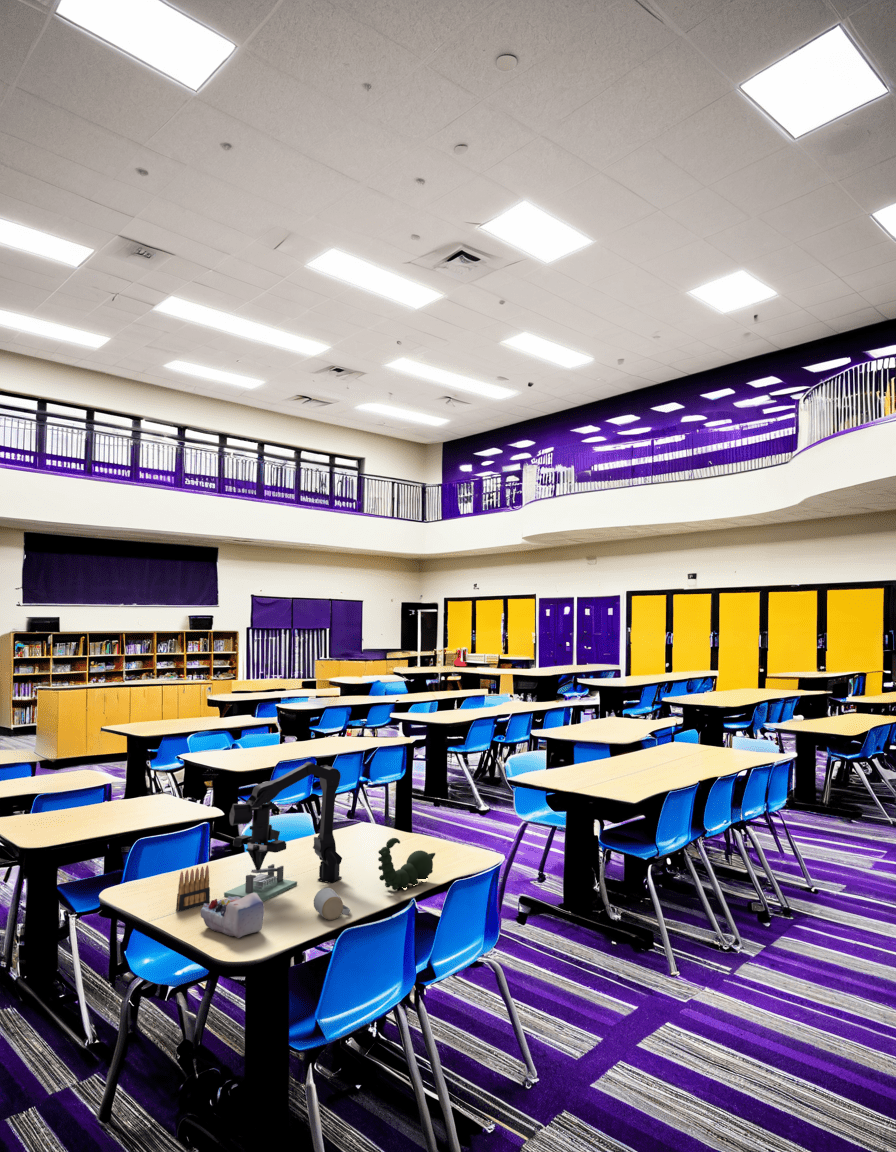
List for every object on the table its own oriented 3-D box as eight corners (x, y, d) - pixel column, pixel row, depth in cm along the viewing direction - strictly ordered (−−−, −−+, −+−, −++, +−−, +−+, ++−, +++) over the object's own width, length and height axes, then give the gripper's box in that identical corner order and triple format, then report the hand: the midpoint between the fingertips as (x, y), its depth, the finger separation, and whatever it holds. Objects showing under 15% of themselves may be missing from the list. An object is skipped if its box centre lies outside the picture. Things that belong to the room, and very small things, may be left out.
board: (296, 885, 250) (297, 881, 251) (259, 902, 232) (260, 899, 232) (262, 879, 257) (262, 875, 257) (224, 896, 239) (224, 892, 239)
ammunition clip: (206, 902, 233) (208, 864, 234) (209, 903, 232) (211, 865, 233) (175, 910, 225) (177, 871, 226) (178, 912, 224) (180, 872, 225)
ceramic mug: (321, 923, 215) (323, 896, 216) (312, 914, 222) (313, 889, 223) (354, 917, 221) (355, 891, 222) (344, 909, 228) (345, 884, 229)
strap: (273, 870, 253) (273, 867, 253) (279, 871, 252) (279, 868, 252) (250, 872, 242) (250, 869, 242) (257, 873, 241) (257, 870, 241)
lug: (255, 891, 240) (255, 874, 240) (250, 893, 238) (251, 876, 238) (249, 890, 241) (250, 873, 241) (245, 892, 239) (245, 875, 239)
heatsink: (277, 884, 247) (277, 875, 247) (262, 891, 240) (262, 882, 240) (260, 882, 250) (261, 873, 250) (245, 888, 242) (245, 879, 243)
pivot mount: (283, 880, 252) (283, 865, 252) (278, 882, 249) (278, 867, 250) (272, 878, 254) (272, 864, 254) (267, 880, 251) (267, 866, 252)
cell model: (237, 904, 201) (195, 891, 213) (236, 944, 199) (195, 929, 211) (274, 891, 211) (232, 880, 223) (273, 930, 210) (232, 916, 222)
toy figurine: (392, 902, 239) (445, 879, 256) (389, 845, 240) (442, 826, 257) (374, 895, 245) (427, 873, 263) (371, 839, 246) (424, 821, 264)
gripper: (297, 821, 249) (294, 867, 247) (254, 815, 257) (251, 860, 255) (277, 827, 239) (274, 875, 237) (233, 821, 247) (230, 868, 244)
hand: (258, 869), depth 243 cm, fingers closed, pressing on strap
